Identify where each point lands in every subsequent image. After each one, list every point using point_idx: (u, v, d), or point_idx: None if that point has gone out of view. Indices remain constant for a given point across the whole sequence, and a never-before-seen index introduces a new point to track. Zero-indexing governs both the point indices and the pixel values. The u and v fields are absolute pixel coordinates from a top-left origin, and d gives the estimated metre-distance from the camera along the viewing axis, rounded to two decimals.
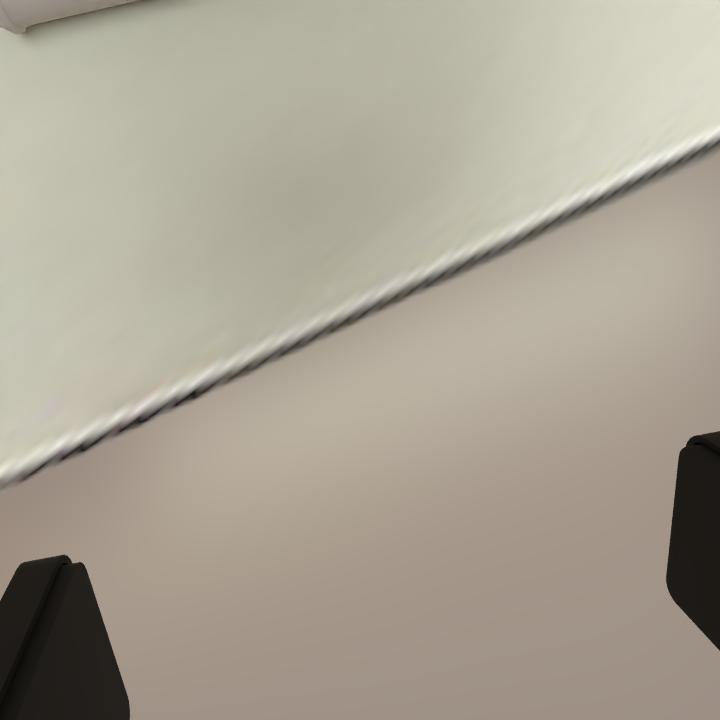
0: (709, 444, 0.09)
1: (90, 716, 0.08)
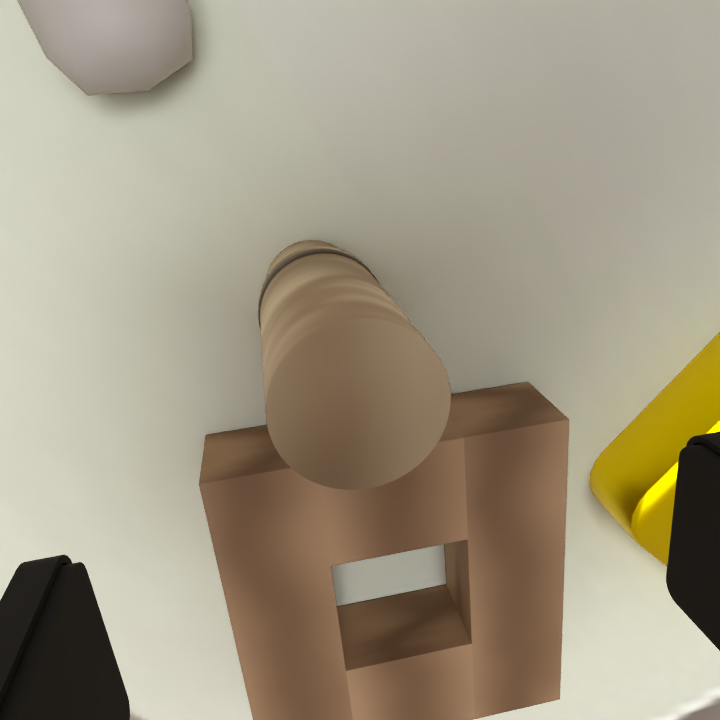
0: (709, 444, 0.09)
1: (90, 716, 0.08)
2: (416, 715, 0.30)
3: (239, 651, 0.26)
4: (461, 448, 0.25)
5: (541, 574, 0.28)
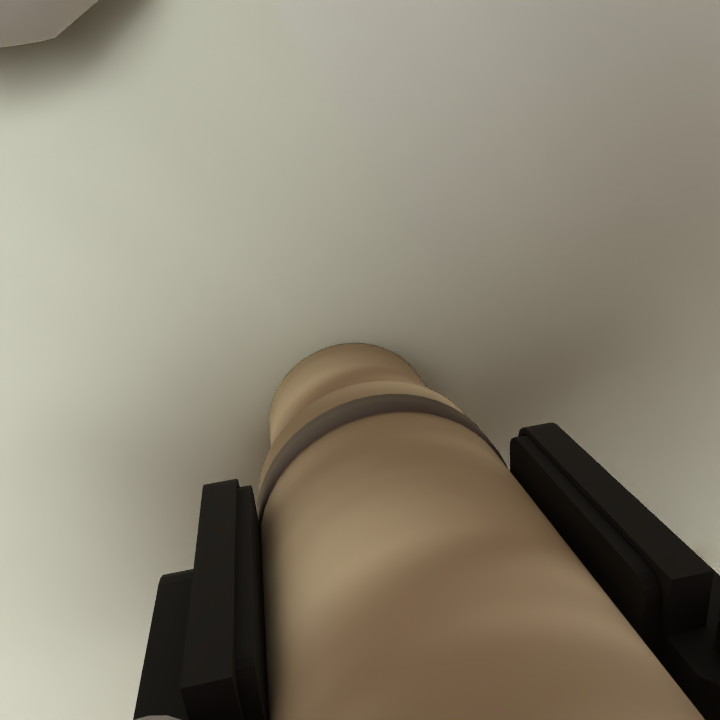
0: (530, 435, 0.10)
1: None
2: None
3: None
4: None
5: None
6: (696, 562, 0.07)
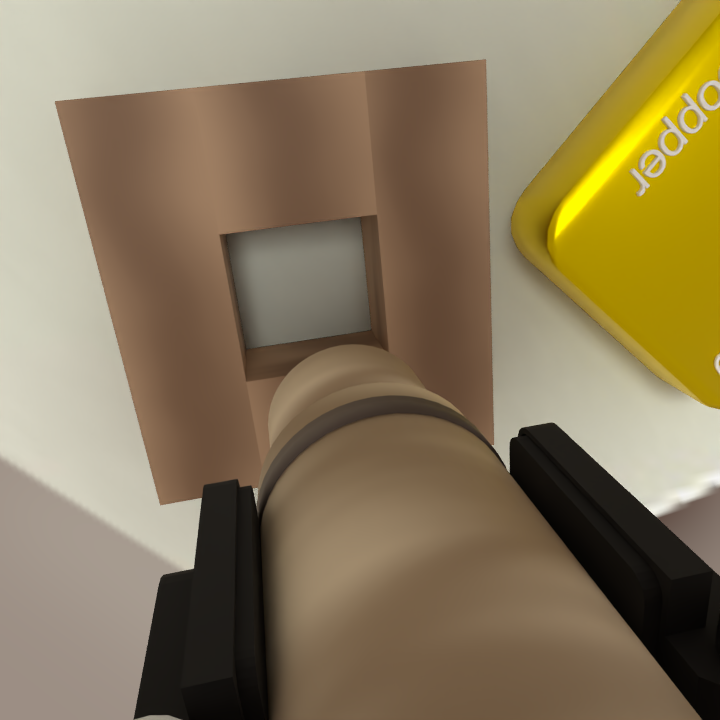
0: (530, 435, 0.10)
1: None
2: None
3: (119, 342, 0.23)
4: (362, 85, 0.22)
5: (464, 272, 0.25)
6: (695, 564, 0.07)
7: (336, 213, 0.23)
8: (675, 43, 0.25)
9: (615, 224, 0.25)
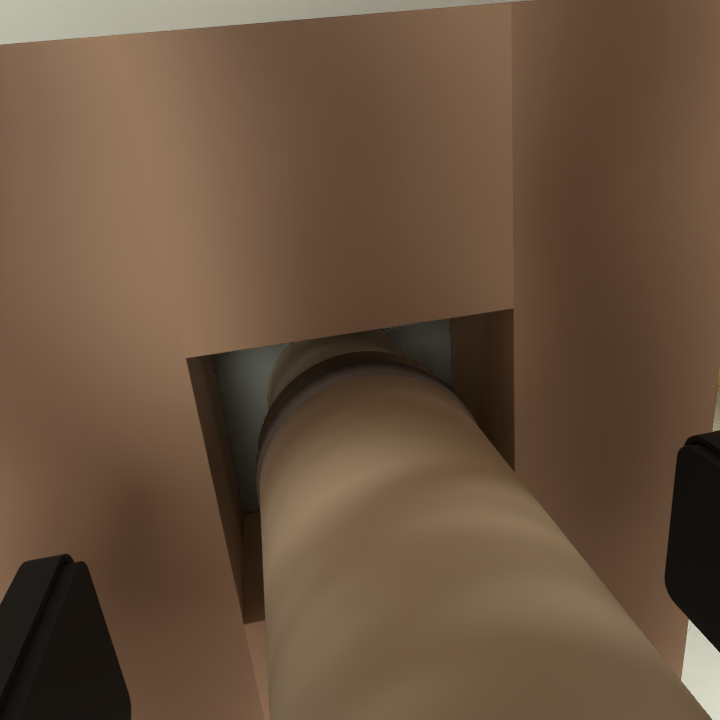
0: (707, 444, 0.09)
1: (92, 714, 0.08)
2: None
3: None
4: (504, 36, 0.10)
5: (667, 410, 0.13)
6: None
7: (432, 308, 0.11)
8: None
9: None
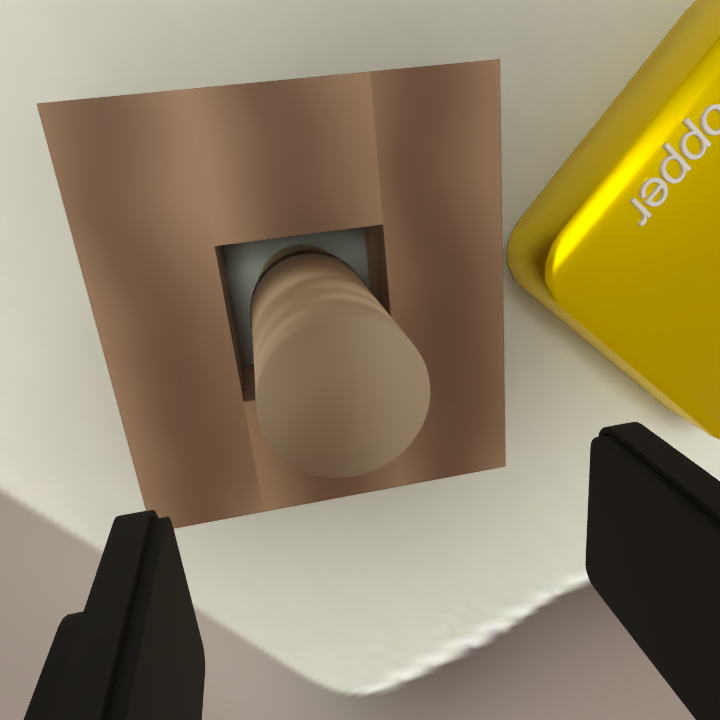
0: (615, 435, 0.10)
1: (182, 653, 0.09)
2: None
3: (108, 360, 0.22)
4: (368, 87, 0.20)
5: (475, 285, 0.23)
6: None
7: (339, 223, 0.22)
8: (675, 65, 0.23)
9: (617, 256, 0.24)
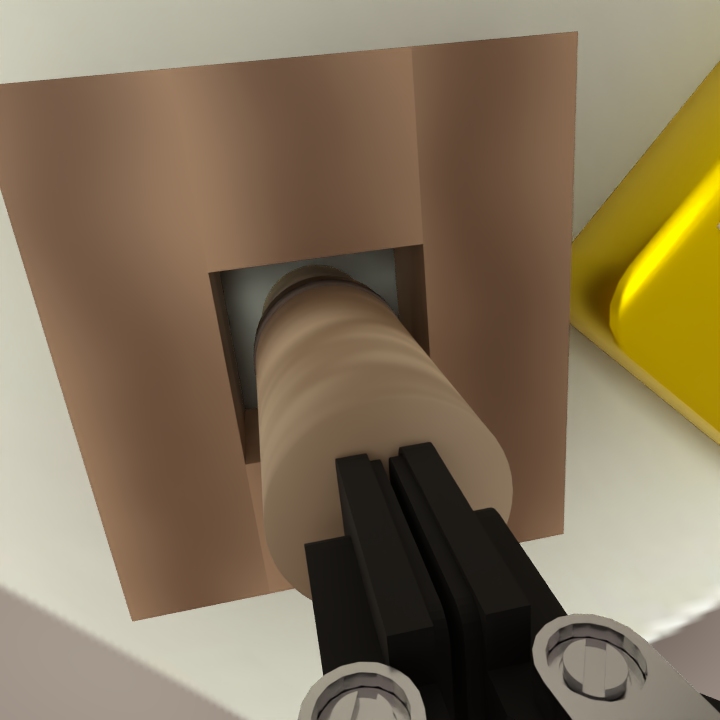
0: (404, 455, 0.10)
1: None
2: None
3: (73, 417, 0.17)
4: (408, 67, 0.16)
5: (535, 318, 0.19)
6: (516, 596, 0.07)
7: (368, 242, 0.17)
8: None
9: (698, 294, 0.19)
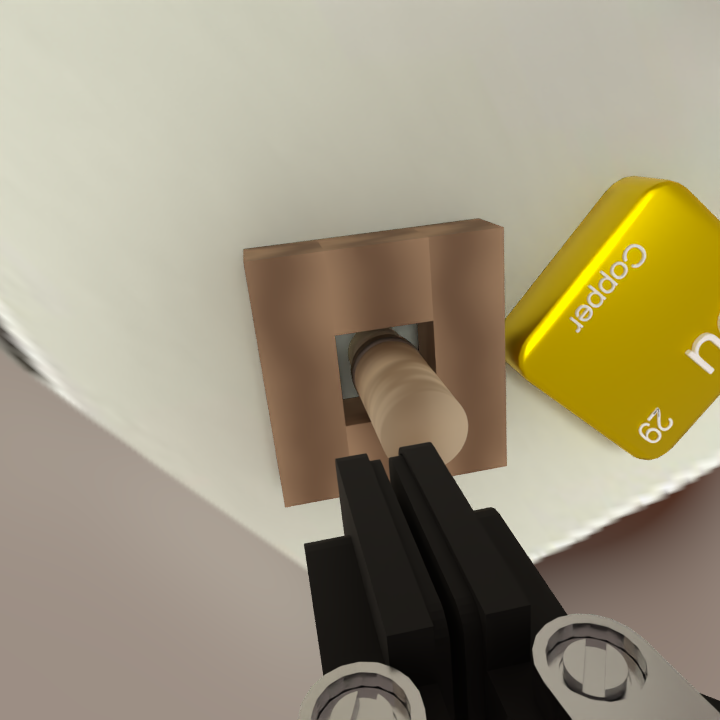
0: (404, 455, 0.10)
1: None
2: None
3: (268, 402, 0.37)
4: (427, 245, 0.35)
5: (488, 354, 0.38)
6: (517, 596, 0.07)
7: (407, 320, 0.36)
8: (595, 234, 0.38)
9: (563, 350, 0.39)
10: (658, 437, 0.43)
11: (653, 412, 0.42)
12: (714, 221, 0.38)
